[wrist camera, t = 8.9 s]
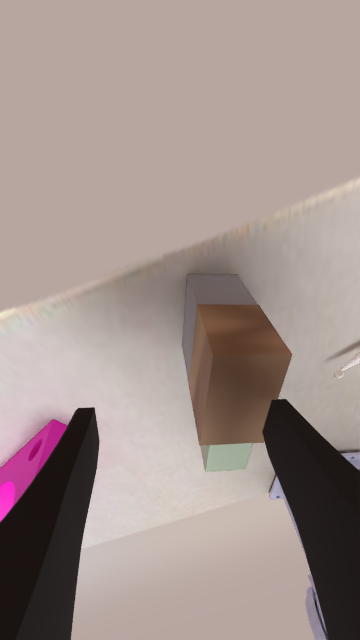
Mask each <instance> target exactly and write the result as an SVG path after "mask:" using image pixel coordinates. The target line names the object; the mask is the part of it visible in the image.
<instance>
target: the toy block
mask: <svg viewBox="0 0 360 640" xmlns="http://www.w3.org/2000/svg"><path fill="white" fill-rule="evenodd" d="M66 428H67V425H65V424H62V423H60V422H58V421H56V420H54V419H53V420H52V421H51V422H50V423H49V424H47V425H46V426H45V427H44V428H43V429H42V430H41V431H40V432H39V433H38V434H37V435H36V436H35V437H34V438H32V439H31V440H30V441H29V442H28V443H27V444H26V445H25V446H24V447H23V448H22V449H21V450H20V451H19V452H17V453H16V454H15V455H14V456H13V457H12V458H11V459H10V460H9V461H8V462H7V463H6V464H5V465H4V466H3V467H1V468H0V522H1V520H2V519H3V518H4V517H5V516H6V514H7V513H8V512H9V511H10V509H11V508H12V507H13V506H14V504H15V503H16V502H17V501H18V499H19V498H20V497H21V496H22V494H23V493H24V492H25V490H26V489H27V488H28V486H29V485H30V483H31V482H32V481H33V479H34V478H35V476H36V475H37V473H38V472H39V471H40V469H41V468H42V466H43V465H44V463H45V462H46V460H47V459H48V457H49V456H50V454H51V453H52V451H53V449H54V448H55V446H56V445H57V443H58V442H59V440H60V438H61V436H62V435H63V433H64V431H65V430H66Z"/></svg>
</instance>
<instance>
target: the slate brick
mask: <svg viewBox="0 0 360 640" xmlns="http://www.w3.org/2000/svg"><path fill="white" fill-rule="evenodd" d="M197 304H233V305H257V303H256V302H255V300H254V299H253V297H252V296H251V294H250V293H249V291H248V290H247V288H246V287H245V285H244V284H243V282H242V281H241V279H240V278H239V276H238V275H216V274H187V285H186V298H185V312H184V326H183V339H182V348H183V354H184V359H185V365H186V371H187V376H188V382H189V378H190V368H191V359H192V349H193V339H194V330H195V320H196V310H197Z"/></svg>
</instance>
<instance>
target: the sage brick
mask: <svg viewBox="0 0 360 640" xmlns="http://www.w3.org/2000/svg"><path fill="white" fill-rule="evenodd" d="M252 445H253V443H243V444H224V445H205V446H201V451H202V457H203V462H204V468H205V472H215V471H230V470H245V469H246V466H247V462H248V459H249V456H250V452H251V449H252Z"/></svg>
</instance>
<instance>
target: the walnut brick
mask: <svg viewBox="0 0 360 640" xmlns="http://www.w3.org/2000/svg"><path fill="white" fill-rule="evenodd" d="M291 357H292V353H291V352H290V350H289V349H288V347H287V346H286V344H285V343H284V342H283V340H282V339H281V337H280V336H279V334H278V333H277V331H276V330H275V328H274V327H273V325H272V324H271V322H270V321H269V319H268V318H267V316H266V315H265V313H264V312H263V311H262V309H261V308H260V306H259V305H233V304H197V310H196V320H195V330H194V339H193V349H192V359H191V368H190V378H189V389H190V395H191V400H192V406H193V411H194V417H195V423H196V428H197V434H198V440H199V445H200V446H205V445H224V444H243V443H263V442H264V437H263V433H262V431H263V428H264V424H265V421H266V417H267V414H268V411H269V407H270V404H271V401H272V400H277V399H278V397H279V394H280V391H281V387H282V384H283V381H284V378H285V375H286V372H287V369H288V366H289V363H290V360H291Z"/></svg>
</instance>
